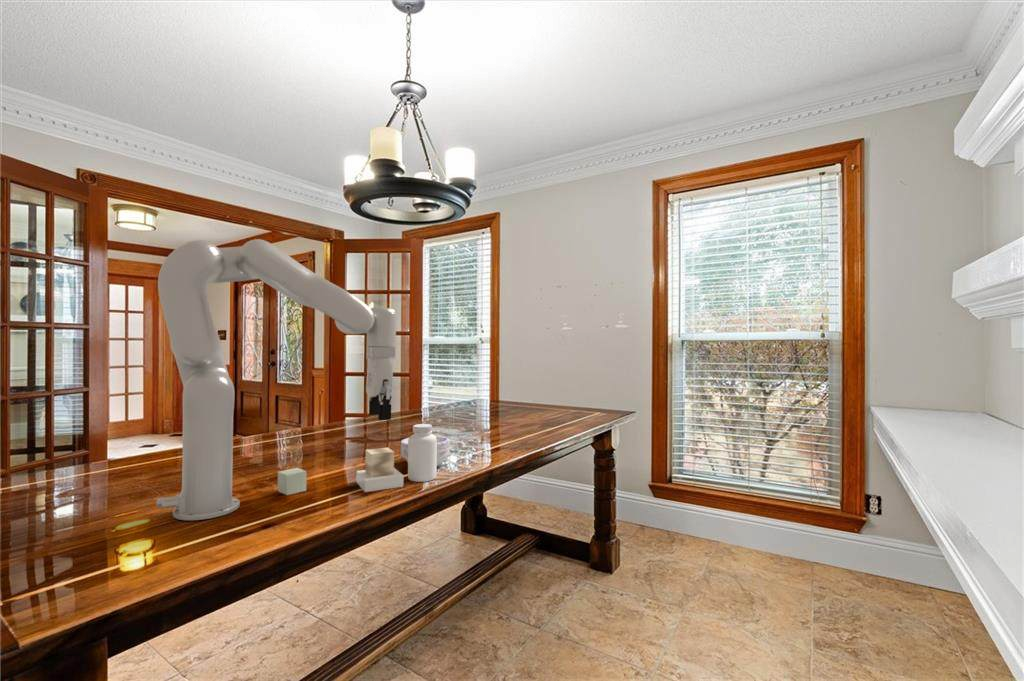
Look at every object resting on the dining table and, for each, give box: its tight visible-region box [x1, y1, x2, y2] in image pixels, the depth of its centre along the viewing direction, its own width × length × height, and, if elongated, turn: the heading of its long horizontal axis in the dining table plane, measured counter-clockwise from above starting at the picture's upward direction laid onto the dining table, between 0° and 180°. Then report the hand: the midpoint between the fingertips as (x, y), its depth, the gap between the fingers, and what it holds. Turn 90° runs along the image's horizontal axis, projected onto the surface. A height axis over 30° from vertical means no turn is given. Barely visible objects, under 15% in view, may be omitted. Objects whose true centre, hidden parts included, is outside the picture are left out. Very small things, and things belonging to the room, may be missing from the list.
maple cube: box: [364, 447, 395, 477], centre depth 128 cm, size 6×6×6 cm
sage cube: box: [277, 467, 308, 496], centre depth 121 cm, size 5×5×5 cm
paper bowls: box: [400, 435, 451, 467], centre depth 149 cm, size 15×15×8 cm
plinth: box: [355, 467, 404, 493], centre depth 128 cm, size 10×10×3 cm
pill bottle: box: [407, 423, 438, 483], centre depth 134 cm, size 8×8×15 cm
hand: (379, 417), depth 128 cm, fingers open, 9 cm apart
